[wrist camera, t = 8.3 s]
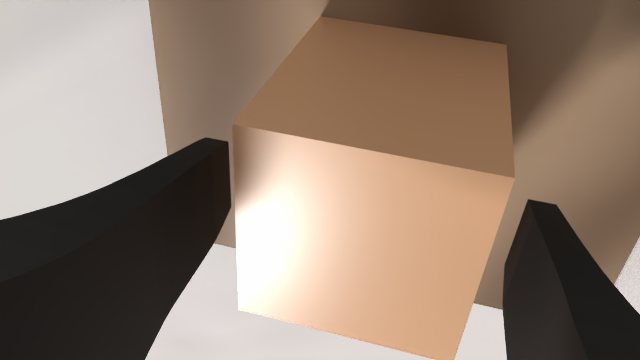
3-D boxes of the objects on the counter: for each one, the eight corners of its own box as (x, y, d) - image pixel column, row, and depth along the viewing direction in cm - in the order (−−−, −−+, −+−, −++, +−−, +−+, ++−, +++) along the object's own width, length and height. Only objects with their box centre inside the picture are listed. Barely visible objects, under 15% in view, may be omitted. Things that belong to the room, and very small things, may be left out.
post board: (188, 219, 23) (116, 317, 18) (146, -175, 15) (1, -169, 10) (585, 309, 20) (611, 448, 16) (802, -117, 12) (981, -74, 8)
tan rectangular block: (310, 166, 18) (238, 309, 13) (320, 16, 15) (232, 123, 10) (464, 197, 18) (452, 364, 12) (506, 44, 15) (515, 178, 9)
